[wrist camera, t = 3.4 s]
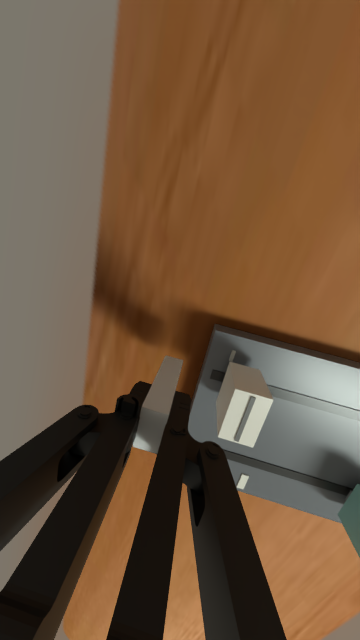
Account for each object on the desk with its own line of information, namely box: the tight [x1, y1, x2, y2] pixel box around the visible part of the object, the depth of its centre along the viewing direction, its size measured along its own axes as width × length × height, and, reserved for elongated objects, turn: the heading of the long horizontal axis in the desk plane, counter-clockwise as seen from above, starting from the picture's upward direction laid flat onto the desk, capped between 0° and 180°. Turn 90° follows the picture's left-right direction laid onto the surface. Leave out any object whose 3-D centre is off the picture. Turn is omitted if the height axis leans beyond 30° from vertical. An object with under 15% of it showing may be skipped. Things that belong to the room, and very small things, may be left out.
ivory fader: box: [216, 362, 274, 448], centre depth 17 cm, size 4×2×5 cm, turn 166°
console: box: [188, 324, 360, 523], centre depth 21 cm, size 16×22×2 cm
